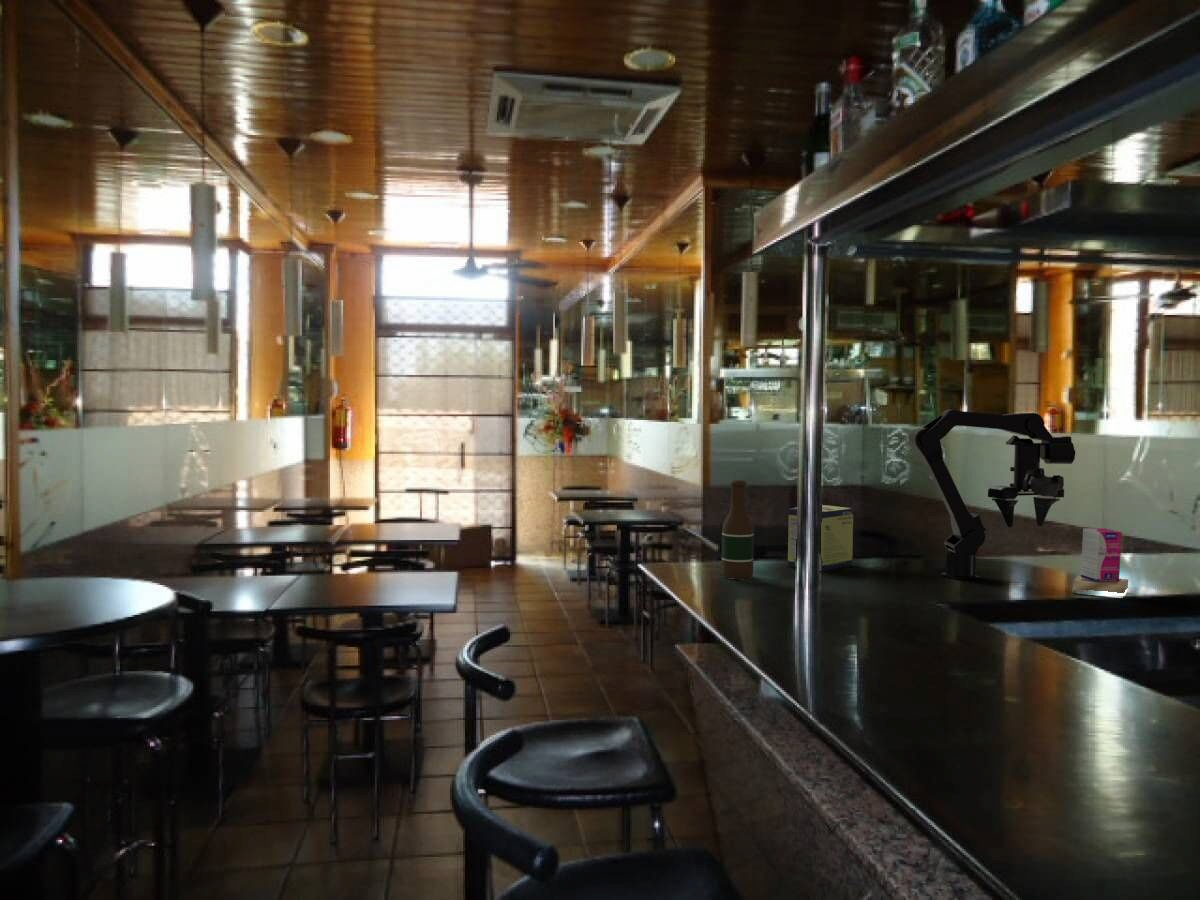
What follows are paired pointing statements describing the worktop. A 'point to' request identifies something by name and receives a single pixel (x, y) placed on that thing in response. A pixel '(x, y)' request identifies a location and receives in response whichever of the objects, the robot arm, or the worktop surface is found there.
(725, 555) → the beer bottle
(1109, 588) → the beech base block
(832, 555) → the protein box
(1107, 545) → the supplement box
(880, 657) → the worktop surface
